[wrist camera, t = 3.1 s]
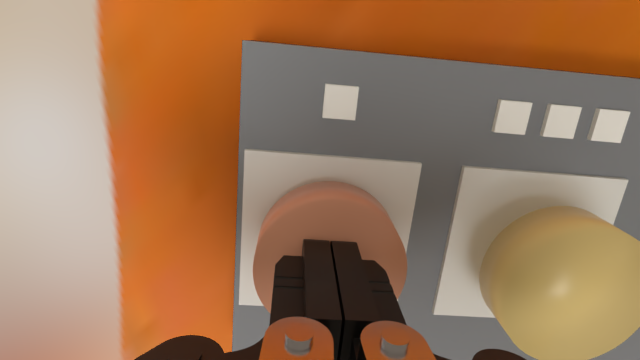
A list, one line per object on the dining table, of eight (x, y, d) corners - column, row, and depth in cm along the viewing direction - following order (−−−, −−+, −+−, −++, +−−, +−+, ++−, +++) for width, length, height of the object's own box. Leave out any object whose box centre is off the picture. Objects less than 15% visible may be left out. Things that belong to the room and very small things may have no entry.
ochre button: (636, 210, 13) (682, 234, 11) (592, 330, 14) (628, 366, 12) (496, 200, 12) (524, 223, 11) (466, 325, 14) (487, 360, 12)
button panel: (780, 91, 16) (872, 101, 13) (668, 349, 20) (723, 395, 17) (251, 40, 14) (241, 40, 12) (240, 329, 18) (230, 377, 15)
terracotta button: (405, 186, 13) (419, 205, 11) (384, 307, 14) (395, 339, 13) (261, 175, 12) (256, 194, 11) (254, 301, 14) (249, 332, 12)
